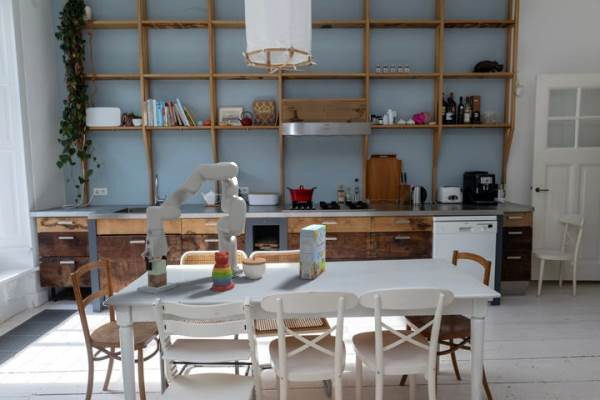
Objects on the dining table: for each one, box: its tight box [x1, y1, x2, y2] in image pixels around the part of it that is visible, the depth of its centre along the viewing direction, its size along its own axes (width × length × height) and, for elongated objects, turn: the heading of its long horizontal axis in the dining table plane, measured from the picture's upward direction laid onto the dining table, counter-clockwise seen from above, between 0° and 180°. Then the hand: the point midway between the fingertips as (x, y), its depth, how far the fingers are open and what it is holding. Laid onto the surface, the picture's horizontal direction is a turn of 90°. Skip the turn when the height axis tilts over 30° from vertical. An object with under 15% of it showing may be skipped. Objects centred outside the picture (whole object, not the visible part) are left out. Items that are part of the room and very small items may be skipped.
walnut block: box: [147, 271, 168, 288], centre depth 202 cm, size 6×6×6 cm
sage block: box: [147, 258, 167, 275], centre depth 201 cm, size 6×6×6 cm
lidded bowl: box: [241, 255, 267, 280], centre depth 220 cm, size 13×13×11 cm
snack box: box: [298, 224, 327, 281], centre depth 224 cm, size 22×9×26 cm, turn 161°
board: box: [136, 281, 178, 295], centre depth 202 cm, size 12×14×1 cm
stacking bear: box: [211, 251, 236, 292], centre depth 200 cm, size 11×10×18 cm
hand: (156, 268), depth 201 cm, fingers open, 9 cm apart
